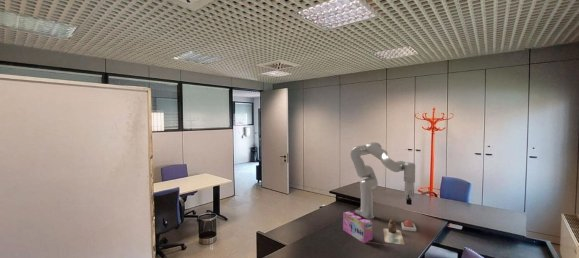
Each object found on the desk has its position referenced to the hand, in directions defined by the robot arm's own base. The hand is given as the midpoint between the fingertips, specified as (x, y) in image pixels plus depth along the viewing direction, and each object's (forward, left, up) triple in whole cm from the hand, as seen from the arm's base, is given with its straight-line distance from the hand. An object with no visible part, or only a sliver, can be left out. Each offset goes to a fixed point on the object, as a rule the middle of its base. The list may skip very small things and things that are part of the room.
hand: (408, 204), depth 188 cm
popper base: (0, 0, -19) cm, 19 cm away
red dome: (0, 0, -18) cm, 18 cm away
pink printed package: (-36, -21, -19) cm, 46 cm away
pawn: (-12, -10, -18) cm, 24 cm away
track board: (-12, -17, -19) cm, 28 cm away
